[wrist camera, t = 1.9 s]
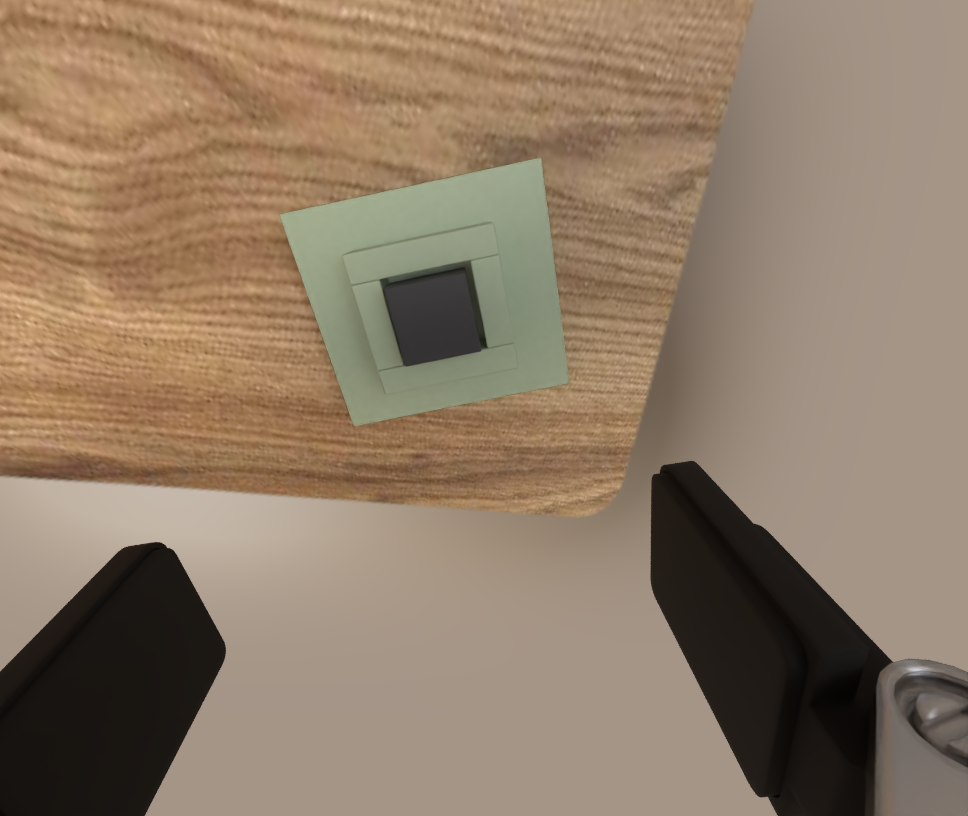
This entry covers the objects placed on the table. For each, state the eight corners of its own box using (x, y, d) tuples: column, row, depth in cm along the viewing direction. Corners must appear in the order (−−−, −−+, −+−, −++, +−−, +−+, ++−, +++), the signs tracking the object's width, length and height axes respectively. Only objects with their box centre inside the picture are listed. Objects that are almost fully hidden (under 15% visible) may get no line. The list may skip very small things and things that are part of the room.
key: (464, 266, 19) (465, 272, 17) (480, 341, 20) (481, 351, 18) (388, 283, 19) (383, 289, 17) (409, 356, 20) (405, 367, 19)
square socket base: (536, 160, 19) (549, 152, 17) (564, 375, 23) (578, 397, 21) (288, 213, 20) (260, 214, 17) (358, 416, 24) (345, 444, 21)
